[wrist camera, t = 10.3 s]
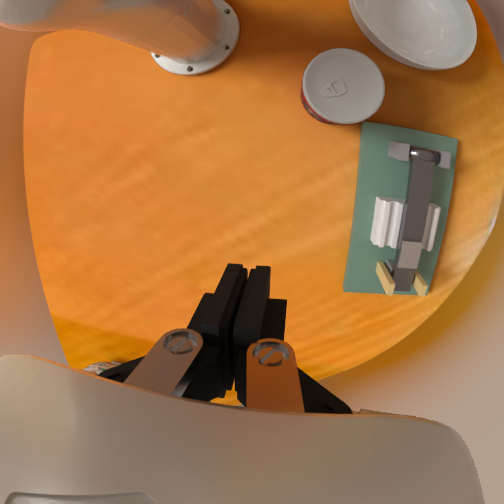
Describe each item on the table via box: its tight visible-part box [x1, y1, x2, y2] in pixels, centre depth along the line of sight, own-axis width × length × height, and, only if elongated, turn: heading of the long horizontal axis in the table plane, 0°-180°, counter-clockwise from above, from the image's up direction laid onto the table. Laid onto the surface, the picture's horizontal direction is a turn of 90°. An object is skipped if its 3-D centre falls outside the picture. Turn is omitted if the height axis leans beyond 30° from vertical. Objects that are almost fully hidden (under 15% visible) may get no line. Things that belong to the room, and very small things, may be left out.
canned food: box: [301, 48, 385, 124], centre depth 28 cm, size 8×8×11 cm
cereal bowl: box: [349, 0, 477, 70], centre depth 23 cm, size 17×17×7 cm
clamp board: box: [343, 121, 458, 297], centre depth 34 cm, size 24×14×8 cm, turn 179°
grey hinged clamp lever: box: [391, 146, 440, 292], centre depth 33 cm, size 19×4×2 cm, turn 179°
